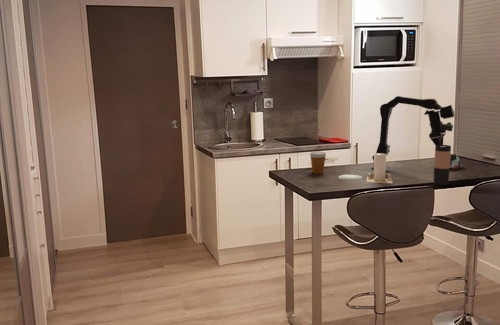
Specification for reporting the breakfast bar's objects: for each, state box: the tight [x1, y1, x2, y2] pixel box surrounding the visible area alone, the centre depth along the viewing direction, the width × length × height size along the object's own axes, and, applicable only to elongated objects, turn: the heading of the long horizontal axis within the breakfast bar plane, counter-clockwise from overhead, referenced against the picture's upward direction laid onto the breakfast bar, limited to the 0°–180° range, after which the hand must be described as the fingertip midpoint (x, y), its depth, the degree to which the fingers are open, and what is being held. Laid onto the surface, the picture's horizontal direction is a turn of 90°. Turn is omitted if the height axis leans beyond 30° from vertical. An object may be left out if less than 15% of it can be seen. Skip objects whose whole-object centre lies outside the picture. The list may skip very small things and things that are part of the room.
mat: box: [337, 174, 363, 181], centre depth 262 cm, size 13×13×1 cm
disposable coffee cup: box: [309, 151, 327, 175], centre depth 278 cm, size 10×10×12 cm
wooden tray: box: [366, 172, 393, 184], centre depth 254 cm, size 13×13×4 cm
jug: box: [373, 153, 387, 181], centre depth 252 cm, size 8×6×14 cm
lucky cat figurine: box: [450, 152, 463, 170], centre depth 288 cm, size 15×12×14 cm
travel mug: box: [433, 144, 452, 186], centre depth 246 cm, size 8×8×20 cm
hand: (440, 147), depth 266 cm, fingers open, 9 cm apart
